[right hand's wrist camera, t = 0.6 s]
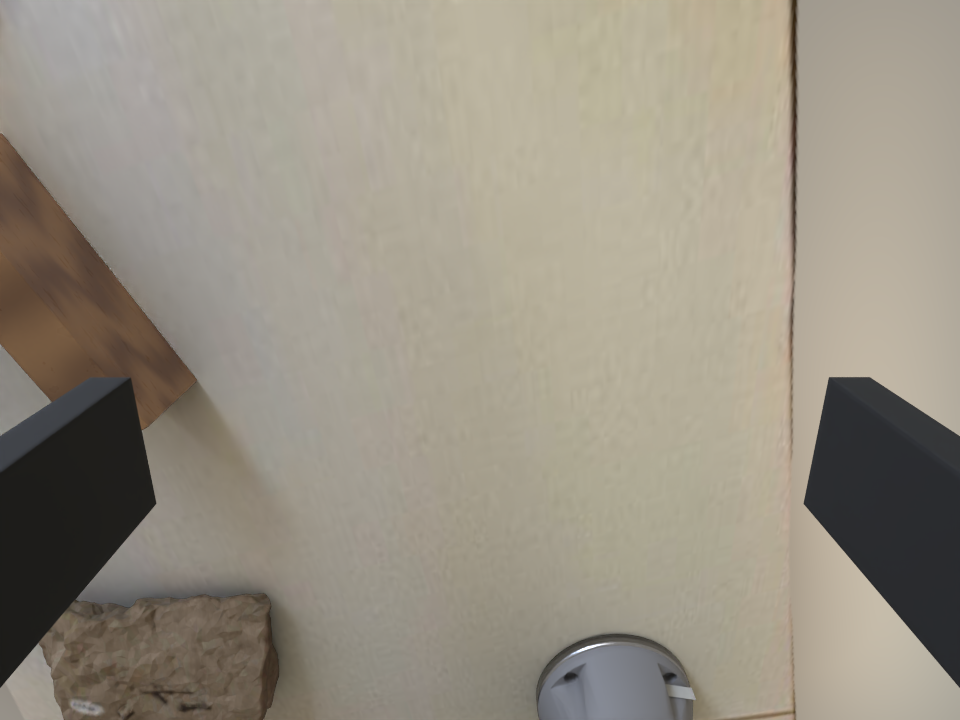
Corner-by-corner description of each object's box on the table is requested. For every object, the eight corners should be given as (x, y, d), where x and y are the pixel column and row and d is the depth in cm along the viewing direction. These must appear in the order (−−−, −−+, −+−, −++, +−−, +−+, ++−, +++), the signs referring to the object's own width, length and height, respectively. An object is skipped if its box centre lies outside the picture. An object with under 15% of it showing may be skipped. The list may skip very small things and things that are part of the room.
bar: (197, 380, 53) (148, 426, 45) (154, 405, 54) (99, 455, 46) (1, 133, 47) (-97, 136, 39) (-44, 166, 47) (-150, 176, 39)
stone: (56, 727, 63) (24, 774, 57) (45, 582, 61) (11, 615, 55) (282, 705, 66) (274, 748, 60) (278, 568, 64) (270, 598, 58)
